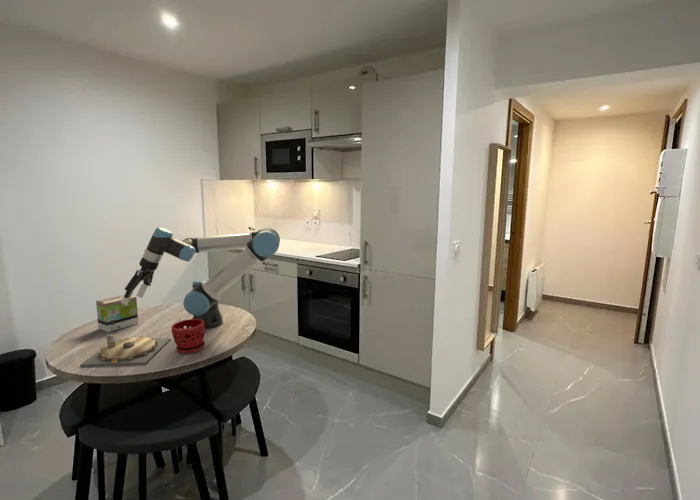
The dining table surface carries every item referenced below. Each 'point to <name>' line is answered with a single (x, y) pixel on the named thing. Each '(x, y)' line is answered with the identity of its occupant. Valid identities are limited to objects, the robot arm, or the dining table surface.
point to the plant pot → (189, 335)
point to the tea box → (116, 313)
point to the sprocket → (126, 347)
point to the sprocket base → (138, 360)
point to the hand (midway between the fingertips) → (131, 300)
